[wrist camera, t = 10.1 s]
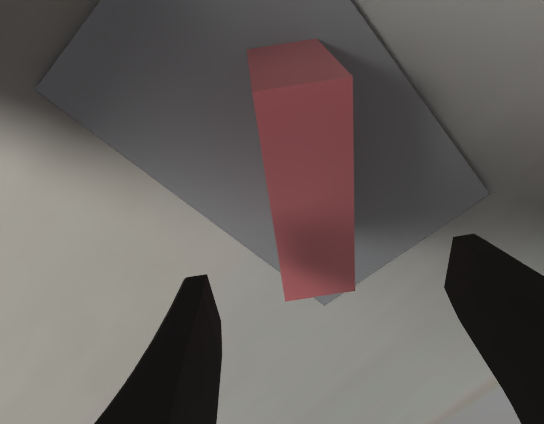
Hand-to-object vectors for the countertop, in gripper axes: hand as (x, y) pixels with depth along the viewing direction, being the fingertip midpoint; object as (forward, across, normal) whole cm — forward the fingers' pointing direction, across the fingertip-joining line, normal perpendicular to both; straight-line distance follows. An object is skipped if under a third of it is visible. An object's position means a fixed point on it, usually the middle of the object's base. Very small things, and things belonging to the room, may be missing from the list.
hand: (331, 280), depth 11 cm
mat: (+10, 0, 0) cm, 10 cm away
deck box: (+9, 0, 0) cm, 9 cm away
